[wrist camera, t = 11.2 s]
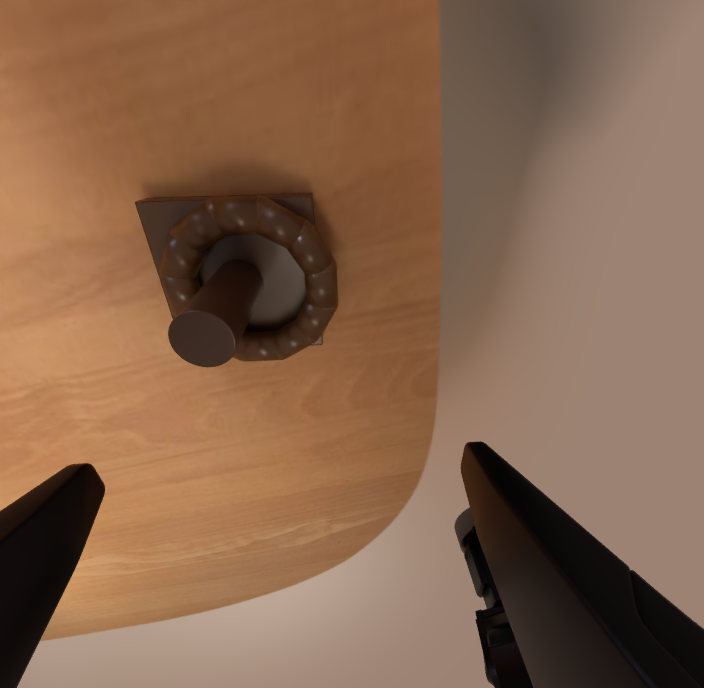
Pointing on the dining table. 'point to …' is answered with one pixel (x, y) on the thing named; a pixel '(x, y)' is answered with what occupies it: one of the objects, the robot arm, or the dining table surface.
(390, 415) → the dining table surface
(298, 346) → the ring
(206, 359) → the stand
